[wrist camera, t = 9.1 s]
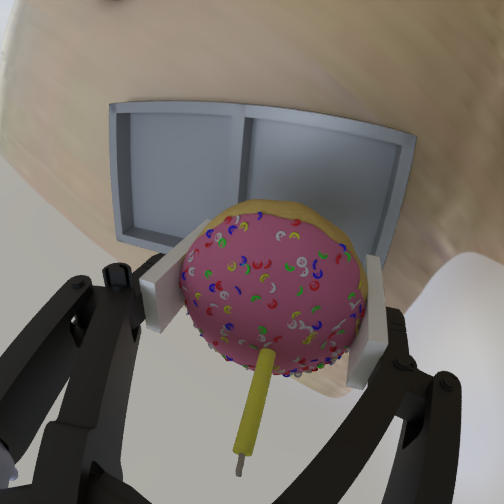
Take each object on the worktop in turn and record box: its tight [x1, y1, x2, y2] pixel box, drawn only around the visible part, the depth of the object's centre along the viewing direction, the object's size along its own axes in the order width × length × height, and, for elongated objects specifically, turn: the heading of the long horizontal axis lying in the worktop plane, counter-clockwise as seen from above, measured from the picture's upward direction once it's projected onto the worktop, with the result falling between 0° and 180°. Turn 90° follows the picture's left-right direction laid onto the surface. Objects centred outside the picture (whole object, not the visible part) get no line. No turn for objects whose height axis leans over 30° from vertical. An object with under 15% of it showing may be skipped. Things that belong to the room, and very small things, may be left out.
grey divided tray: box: [109, 101, 417, 271], centre depth 26 cm, size 27×15×3 cm, turn 85°
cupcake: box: [180, 199, 368, 477], centre depth 12 cm, size 9×8×12 cm
